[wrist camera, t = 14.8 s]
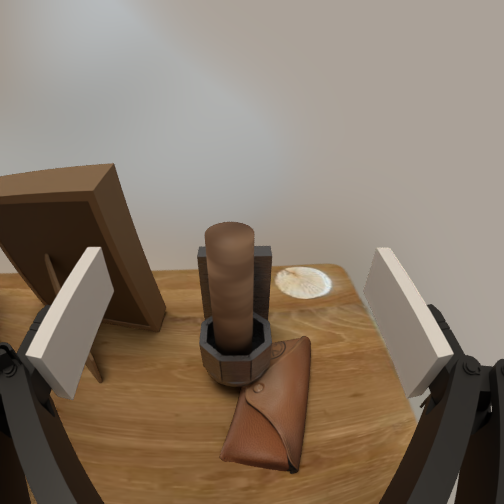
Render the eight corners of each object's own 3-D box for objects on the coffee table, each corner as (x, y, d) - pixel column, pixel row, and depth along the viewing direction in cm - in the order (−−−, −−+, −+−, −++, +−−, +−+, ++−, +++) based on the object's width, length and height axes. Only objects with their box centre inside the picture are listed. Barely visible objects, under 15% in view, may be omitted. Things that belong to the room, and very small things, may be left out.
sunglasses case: (247, 340, 40) (274, 314, 36) (288, 361, 41) (318, 338, 38) (216, 463, 25) (248, 454, 22) (271, 479, 26) (310, 470, 23)
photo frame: (60, 294, 46) (15, 162, 32) (167, 311, 44) (138, 147, 30) (19, 355, 34) (-57, 211, 19) (135, 393, 32) (56, 206, 18)
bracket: (271, 398, 32) (281, 318, 25) (203, 399, 32) (185, 318, 24) (264, 317, 44) (268, 234, 36) (209, 318, 44) (201, 235, 36)
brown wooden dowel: (210, 359, 33) (194, 237, 24) (230, 338, 35) (224, 217, 27) (239, 375, 31) (235, 252, 22) (258, 352, 34) (263, 230, 25)
